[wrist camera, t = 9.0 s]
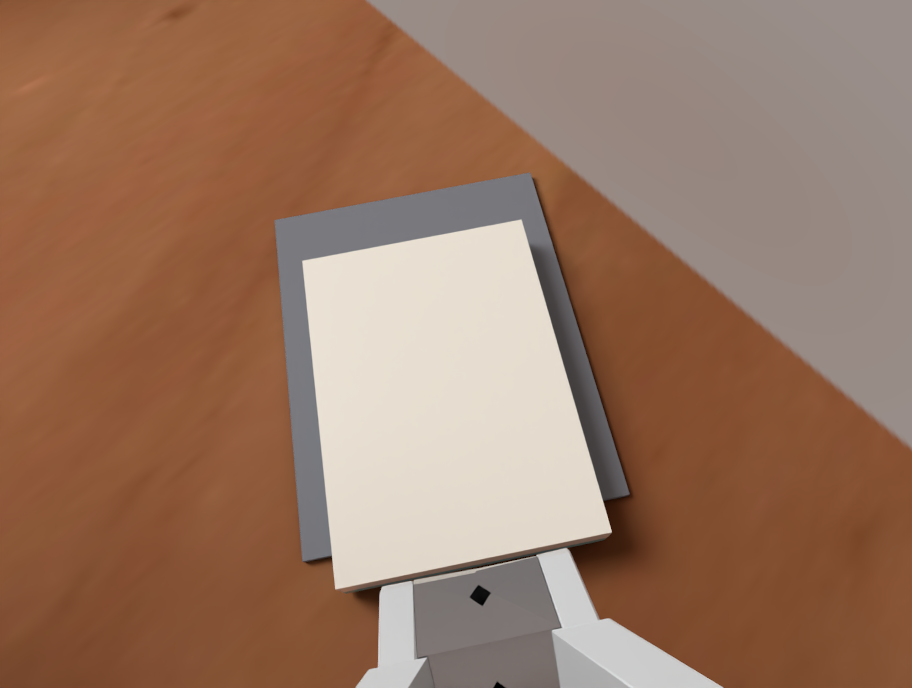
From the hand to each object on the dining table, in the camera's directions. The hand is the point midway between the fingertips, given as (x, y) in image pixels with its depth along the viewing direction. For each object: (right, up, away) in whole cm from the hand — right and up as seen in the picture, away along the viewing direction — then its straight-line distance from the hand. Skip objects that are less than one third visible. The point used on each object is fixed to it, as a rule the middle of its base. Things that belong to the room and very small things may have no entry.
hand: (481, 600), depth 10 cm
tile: (0, -4, +13) cm, 14 cm away
